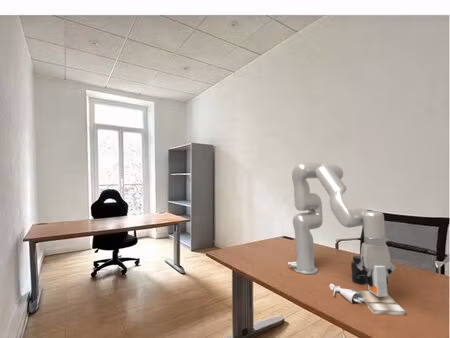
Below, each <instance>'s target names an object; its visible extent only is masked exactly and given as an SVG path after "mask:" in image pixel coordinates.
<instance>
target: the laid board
mask: <svg viewBox="0 0 450 338" xmlns="http://www.w3.org/2000/svg"><path fill="white" fill-rule="evenodd" d="M367 308H368V309H369V310H370V311H371V312H372V314H374V315H394V316H395V315H396V316H397V315H398V316H406V310H405V309H404V308H402V306H400V304H398V303H396V304H386V303H368V305H367Z"/></svg>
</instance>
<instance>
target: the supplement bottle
mask: <svg viewBox="0 0 450 338" xmlns="http://www.w3.org/2000/svg"><path fill="white" fill-rule="evenodd" d="M360 261H361V255H353V257H352V262H351V263H350V268H351V269H350V271H351V272H350V273H351V274H350V275H351V276H350V277H351V278H350V279H351V281H352V283H354V284H356V285H362V286H363V285H368V283H367V282H366V274H365V273H364V272H363V271H361V270H360V269H359V268H358V267H357V265H358V264H359V263H360ZM362 268H364V269H365V266H362Z"/></svg>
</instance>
